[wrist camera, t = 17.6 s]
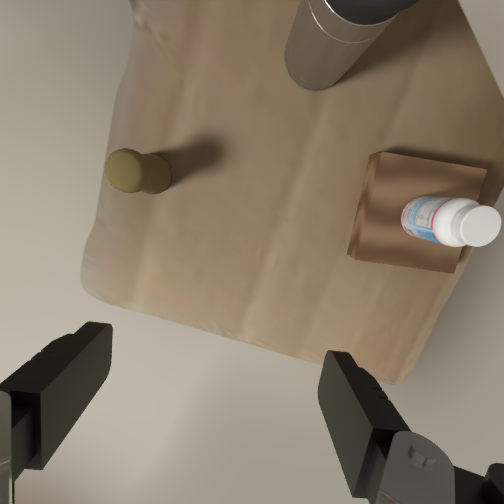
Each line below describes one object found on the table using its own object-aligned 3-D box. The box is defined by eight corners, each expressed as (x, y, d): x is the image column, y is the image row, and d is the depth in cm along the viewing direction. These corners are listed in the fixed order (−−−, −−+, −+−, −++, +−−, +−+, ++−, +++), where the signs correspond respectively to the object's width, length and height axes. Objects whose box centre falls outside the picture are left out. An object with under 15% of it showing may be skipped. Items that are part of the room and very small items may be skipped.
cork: (179, 168, 43) (158, 163, 33) (159, 201, 44) (133, 207, 34) (144, 145, 42) (111, 131, 32) (124, 179, 43) (86, 177, 33)
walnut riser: (370, 154, 44) (382, 151, 40) (466, 171, 45) (487, 169, 41) (347, 253, 47) (356, 259, 43) (436, 266, 48) (453, 273, 45)
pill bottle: (444, 225, 43) (514, 239, 32) (406, 242, 43) (463, 262, 32) (432, 188, 41) (501, 189, 30) (393, 206, 42) (448, 214, 31)
